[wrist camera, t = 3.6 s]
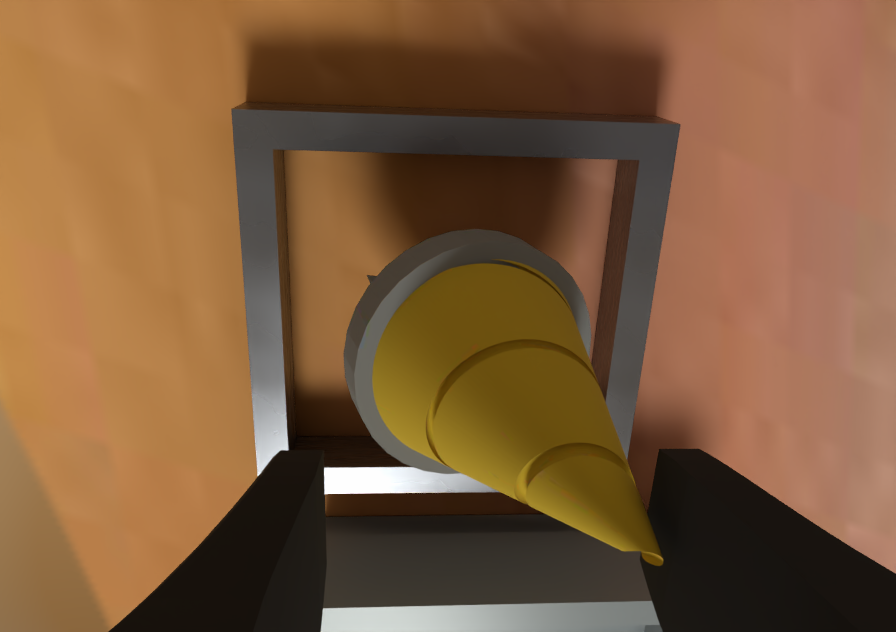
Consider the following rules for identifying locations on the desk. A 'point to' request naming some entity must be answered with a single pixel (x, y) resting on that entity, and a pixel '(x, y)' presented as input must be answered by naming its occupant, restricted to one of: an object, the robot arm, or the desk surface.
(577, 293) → the drill bit
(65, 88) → the desk surface
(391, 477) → the grey square frame
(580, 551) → the bin
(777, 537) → the robot arm
